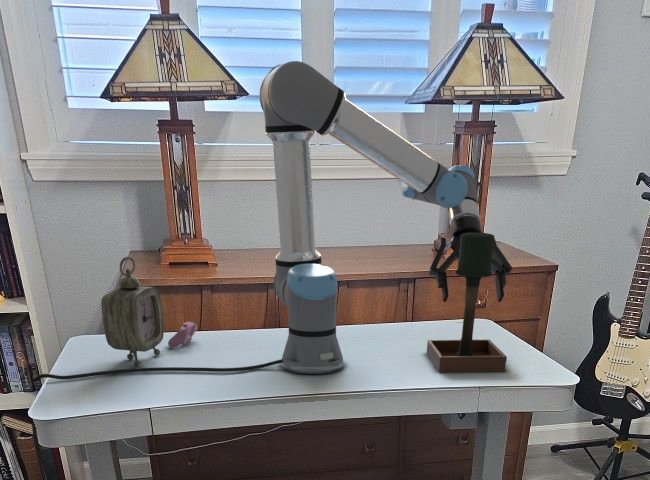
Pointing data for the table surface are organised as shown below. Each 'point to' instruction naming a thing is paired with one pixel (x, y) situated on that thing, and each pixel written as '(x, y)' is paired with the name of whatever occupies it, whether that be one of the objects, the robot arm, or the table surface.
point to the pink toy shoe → (183, 335)
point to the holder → (481, 360)
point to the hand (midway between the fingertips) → (473, 298)
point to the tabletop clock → (133, 316)
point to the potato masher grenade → (473, 279)
